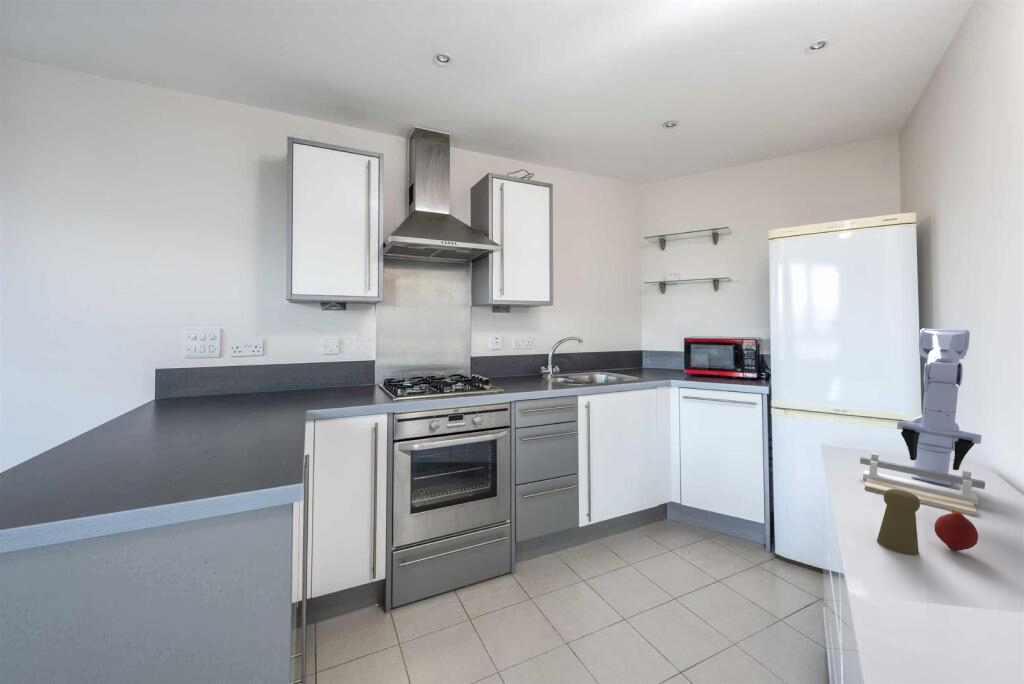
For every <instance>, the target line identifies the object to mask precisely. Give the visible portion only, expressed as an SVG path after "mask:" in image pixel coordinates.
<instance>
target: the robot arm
mask: <svg viewBox="0 0 1024 684" xmlns="http://www.w3.org/2000/svg"><path fill="white" fill-rule="evenodd" d="M919 331H920V332H919V342H918V348H919V349H918V350H919V351H918V353H919V356H921V357H922V358H925V359H927V361H926V362H925V363H924V370H923V378H922V379H923V385H924V386H923V388H924V390H923V391H924V395H923V403H922V413H921V415H918V416H916V417H914V418H913V419H912V422H909V421H903V420H899V421H897V427H896V429H897V430H901V431H900V434H901V436H902V438H903V440H904V443H905V444H906V447H907V450H908V454H909V460H910V461H913V467H916V468H921V469H926V470H931V471H936V472H941V473H946V474H950V473H949V472H950V462H951V461H950V460H951V455H952V452H954V458H953V463H952V470H953V471H959V470H960V467H961V464H962V462H963V460H964V458H965V457H966V455H967V454H968V453H969V451H970V450H971V448H973V447H974V445H975V444H977V445H979V444H981V443H982V437H983V436H982V434H977V433H973V432H967V431H964V430H960V426H959V424H958V423H957V422H956V417H957V416H956V415H957V414H956V413H957V406H958V397H959V396H958V394H959V387H961V385H962V383H963V376H964V375H963V373H964V368H963V363H962V362H960V360H964V359H965V356H967V352H968V350H969V346H970V345H969V344H970V336H971V334H970V331H969V330H968V329H966V328H965V329H952V328H951V329H948V328H947V329H946V328H926V327H923V328H922V329H920V330H919ZM910 478H912V479H916V480H922V481H925V482H931V483H935V484H941V485H946V486H951V483H952V482H947V481H942V480H937V479H933V478H928V477H923V476H918V475H913V474H910Z"/></svg>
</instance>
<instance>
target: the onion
mask: <svg viewBox="0 0 1024 684" xmlns="http://www.w3.org/2000/svg"><path fill="white" fill-rule="evenodd" d="M934 532H935V535H936V536H937V537H938V539H939V540H941V542H943V544H945V545H946V547H947V548H949V550H951V551H954V552H958V551H959V552H960V551H964V550H969V549H972V548H974V546H976V545H977V544H978V540H979V532H978V530H977V528H976V526H975V525H974V524H973V522H972V521H971V520H970V519H968V518H967V517H965V515H963V513H961V512H959V511H958V510H955V509H954V510H951V513H947V514H946V513H945V514H943V515H941V516H940V517H938V518H937V519H936V521H935V523H934Z"/></svg>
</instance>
